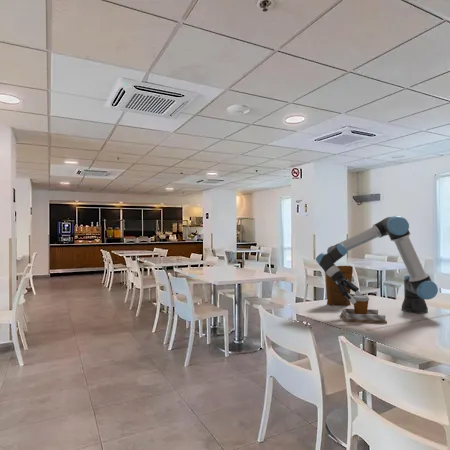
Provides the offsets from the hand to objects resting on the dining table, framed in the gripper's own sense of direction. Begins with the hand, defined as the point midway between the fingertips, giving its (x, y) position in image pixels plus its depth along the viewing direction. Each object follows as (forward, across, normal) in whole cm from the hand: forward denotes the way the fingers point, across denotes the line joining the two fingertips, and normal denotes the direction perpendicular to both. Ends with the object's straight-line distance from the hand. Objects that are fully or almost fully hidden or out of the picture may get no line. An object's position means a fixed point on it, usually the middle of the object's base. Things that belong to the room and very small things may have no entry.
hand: (359, 301), depth 204 cm
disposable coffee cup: (+7, 0, -6) cm, 9 cm away
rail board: (+8, -1, -6) cm, 10 cm away
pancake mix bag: (-11, -28, -26) cm, 40 cm away
